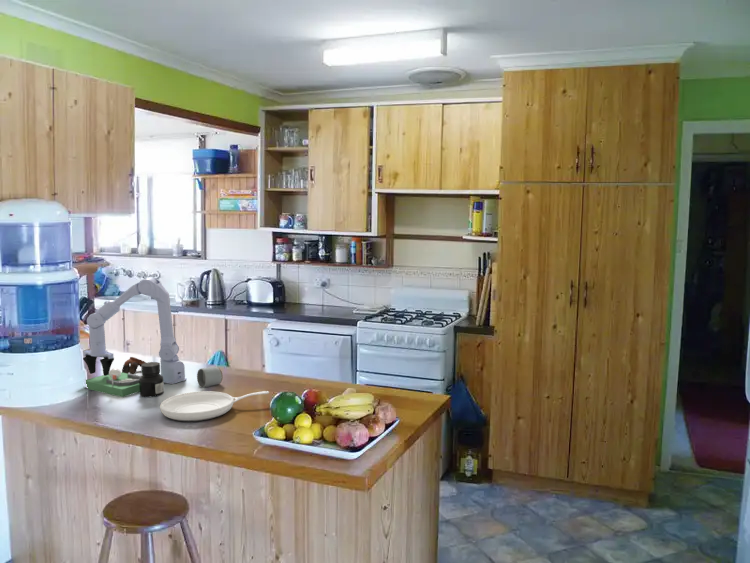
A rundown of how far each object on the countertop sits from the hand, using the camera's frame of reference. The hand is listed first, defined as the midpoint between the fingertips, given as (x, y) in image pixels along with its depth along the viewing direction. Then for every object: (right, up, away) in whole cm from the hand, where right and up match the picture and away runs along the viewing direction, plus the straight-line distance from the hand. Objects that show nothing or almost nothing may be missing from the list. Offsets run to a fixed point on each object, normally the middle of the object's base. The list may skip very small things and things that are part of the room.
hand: (99, 374), depth 253 cm
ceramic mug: (+46, -4, -3) cm, 46 cm away
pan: (+57, -8, -34) cm, 67 cm away
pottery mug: (+8, -2, +15) cm, 17 cm away
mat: (+11, -4, -6) cm, 13 cm away
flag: (+13, -6, -16) cm, 21 cm away
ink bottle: (+27, -6, -15) cm, 32 cm away
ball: (+9, +1, -5) cm, 10 cm away
